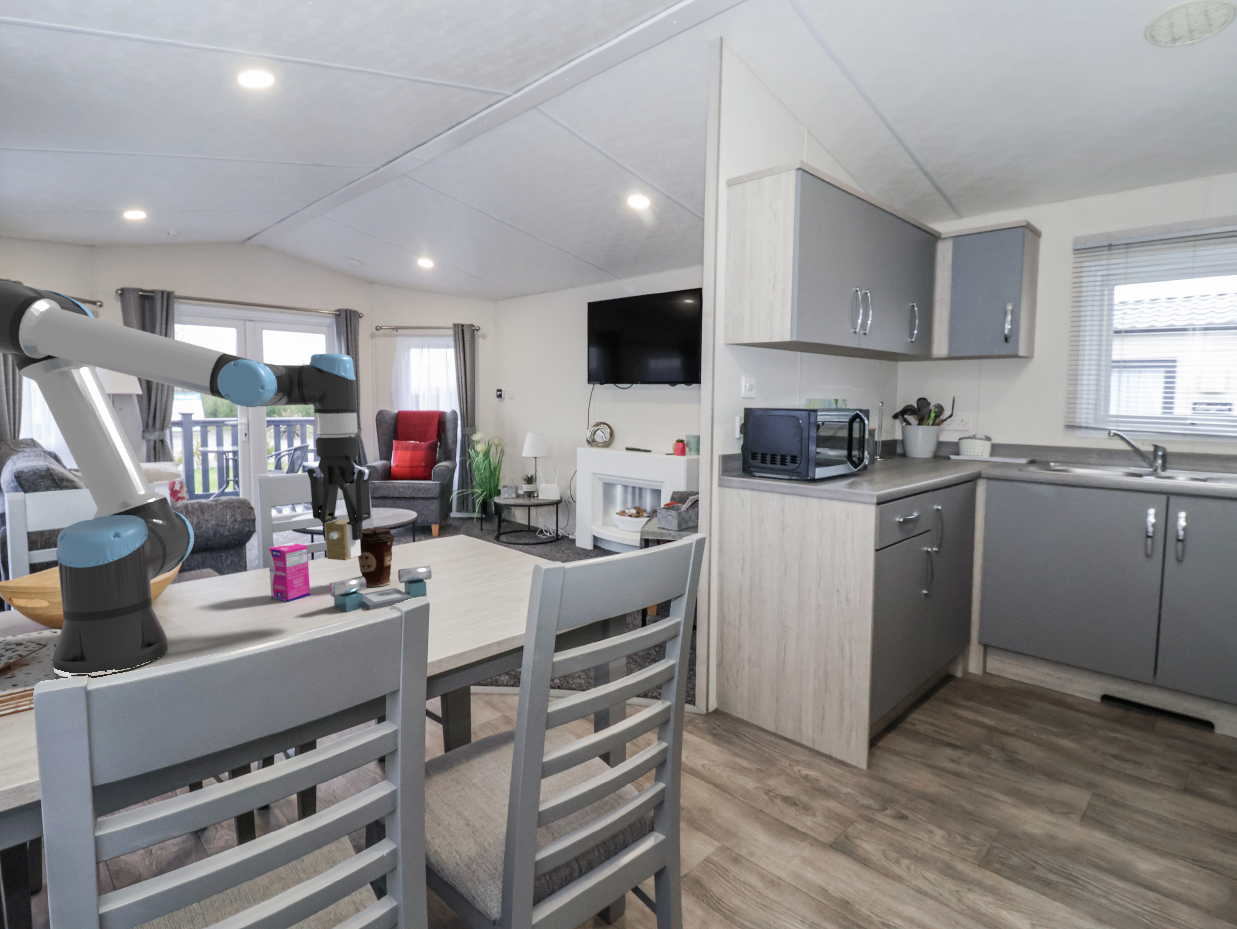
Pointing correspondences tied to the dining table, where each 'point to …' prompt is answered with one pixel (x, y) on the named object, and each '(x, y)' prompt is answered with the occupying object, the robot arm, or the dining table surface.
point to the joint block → (337, 540)
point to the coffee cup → (376, 556)
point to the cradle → (384, 598)
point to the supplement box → (289, 572)
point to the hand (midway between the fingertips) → (343, 555)
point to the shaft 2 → (415, 580)
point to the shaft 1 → (348, 593)
